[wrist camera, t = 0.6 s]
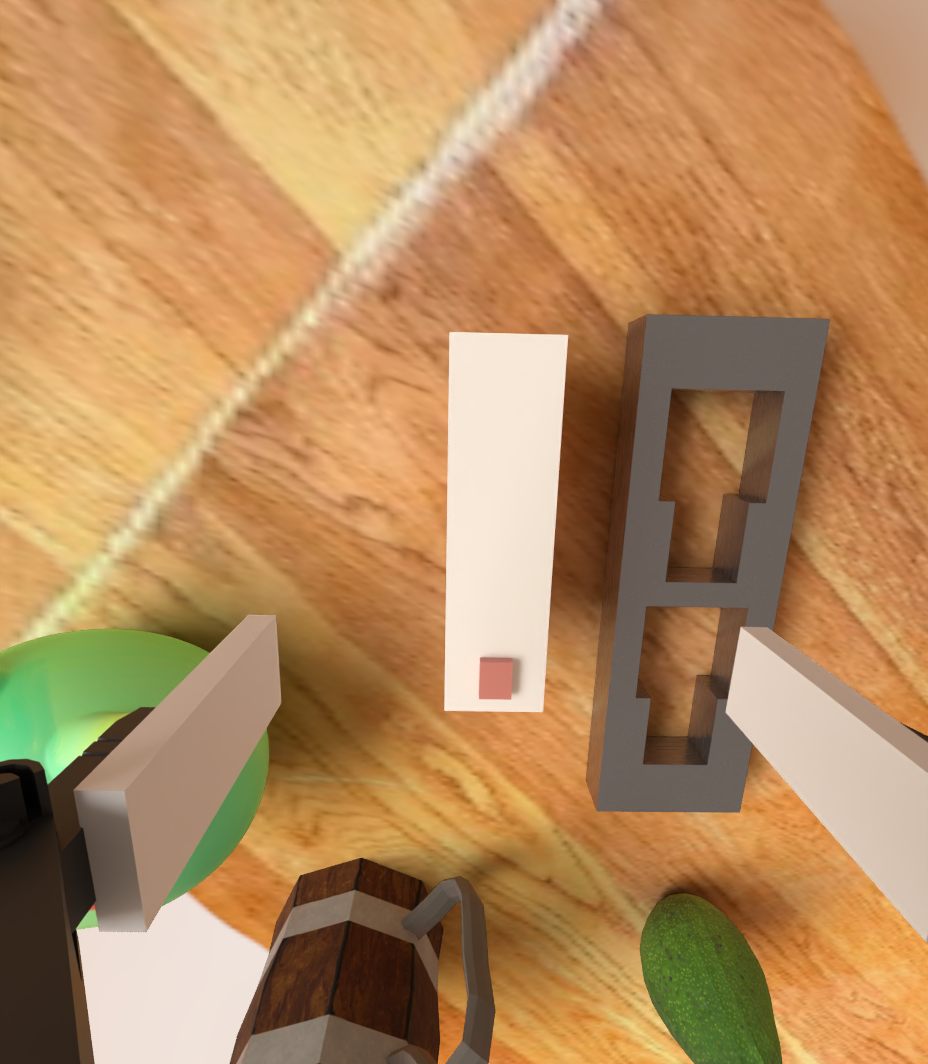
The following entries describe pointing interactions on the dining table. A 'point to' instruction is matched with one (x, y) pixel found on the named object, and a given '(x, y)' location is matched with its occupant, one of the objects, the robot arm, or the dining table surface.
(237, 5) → the dining table surface
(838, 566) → the dining table surface
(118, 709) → the toy bird
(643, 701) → the keyhole plate
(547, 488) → the cream block with pegs
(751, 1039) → the fruit
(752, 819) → the dining table surface
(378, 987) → the mug
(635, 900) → the dining table surface
